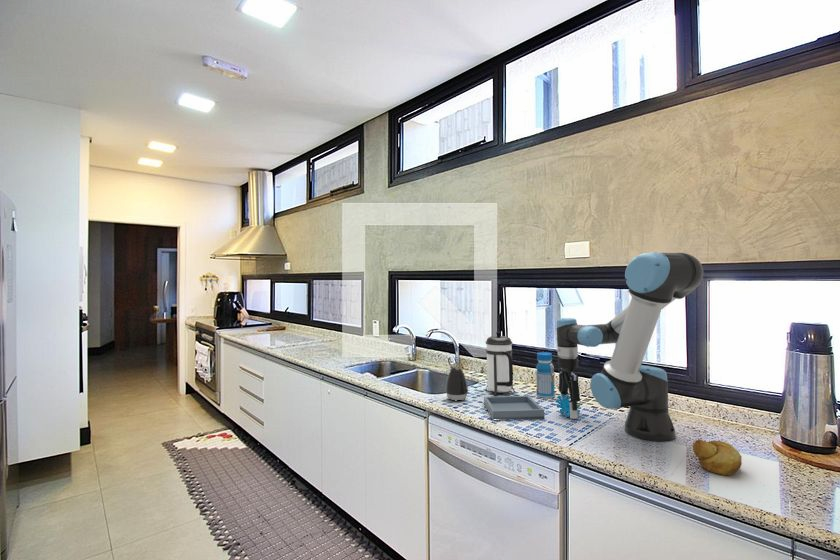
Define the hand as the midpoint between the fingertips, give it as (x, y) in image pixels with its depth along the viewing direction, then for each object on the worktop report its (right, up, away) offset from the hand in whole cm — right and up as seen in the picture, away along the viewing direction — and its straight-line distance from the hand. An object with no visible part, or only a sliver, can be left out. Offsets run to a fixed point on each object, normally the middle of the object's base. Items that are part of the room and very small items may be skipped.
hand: (569, 414), depth 155 cm
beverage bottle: (0, -1, +28) cm, 28 cm away
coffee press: (-20, -2, +35) cm, 40 cm away
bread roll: (+25, +1, -46) cm, 52 cm away
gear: (0, -1, 0) cm, 1 cm away
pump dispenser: (-42, -2, +26) cm, 50 cm away
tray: (-21, -1, +7) cm, 22 cm away
